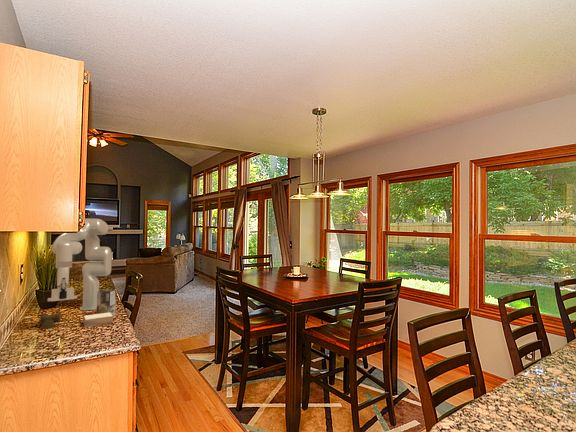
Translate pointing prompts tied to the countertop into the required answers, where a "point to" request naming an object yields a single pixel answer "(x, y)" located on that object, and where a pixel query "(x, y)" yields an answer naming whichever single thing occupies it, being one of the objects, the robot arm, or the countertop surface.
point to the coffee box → (106, 302)
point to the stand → (97, 319)
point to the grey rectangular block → (49, 320)
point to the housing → (56, 292)
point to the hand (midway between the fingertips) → (62, 297)
